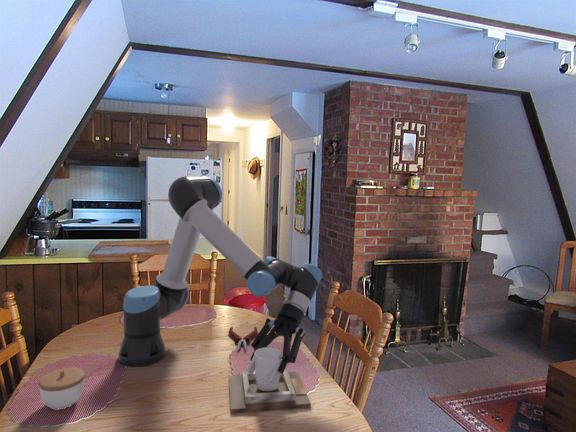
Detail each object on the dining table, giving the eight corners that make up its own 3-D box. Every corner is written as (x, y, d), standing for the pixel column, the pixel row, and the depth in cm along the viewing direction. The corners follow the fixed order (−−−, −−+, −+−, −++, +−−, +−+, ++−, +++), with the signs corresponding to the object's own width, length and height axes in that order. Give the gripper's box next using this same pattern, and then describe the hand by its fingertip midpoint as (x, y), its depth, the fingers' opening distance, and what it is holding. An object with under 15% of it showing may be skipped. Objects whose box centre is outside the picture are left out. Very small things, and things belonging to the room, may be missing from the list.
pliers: (225, 353, 144) (225, 346, 144) (229, 331, 164) (229, 325, 163) (257, 353, 145) (257, 346, 145) (257, 331, 165) (257, 325, 164)
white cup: (284, 381, 121) (285, 349, 120) (275, 395, 113) (275, 361, 112) (260, 376, 123) (260, 345, 122) (249, 389, 116) (250, 356, 115)
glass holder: (230, 413, 108) (230, 402, 107) (228, 379, 125) (228, 369, 125) (310, 407, 112) (311, 396, 111) (297, 375, 129) (298, 365, 129)
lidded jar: (80, 412, 106) (79, 378, 105) (34, 418, 103) (33, 383, 102) (88, 391, 116) (87, 360, 115) (46, 395, 113) (45, 364, 112)
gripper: (326, 322, 123) (294, 394, 112) (272, 307, 135) (239, 371, 123) (318, 309, 118) (284, 384, 107) (263, 295, 130) (227, 361, 118)
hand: (260, 377), depth 115 cm, fingers closed on white cup, 8 cm apart
